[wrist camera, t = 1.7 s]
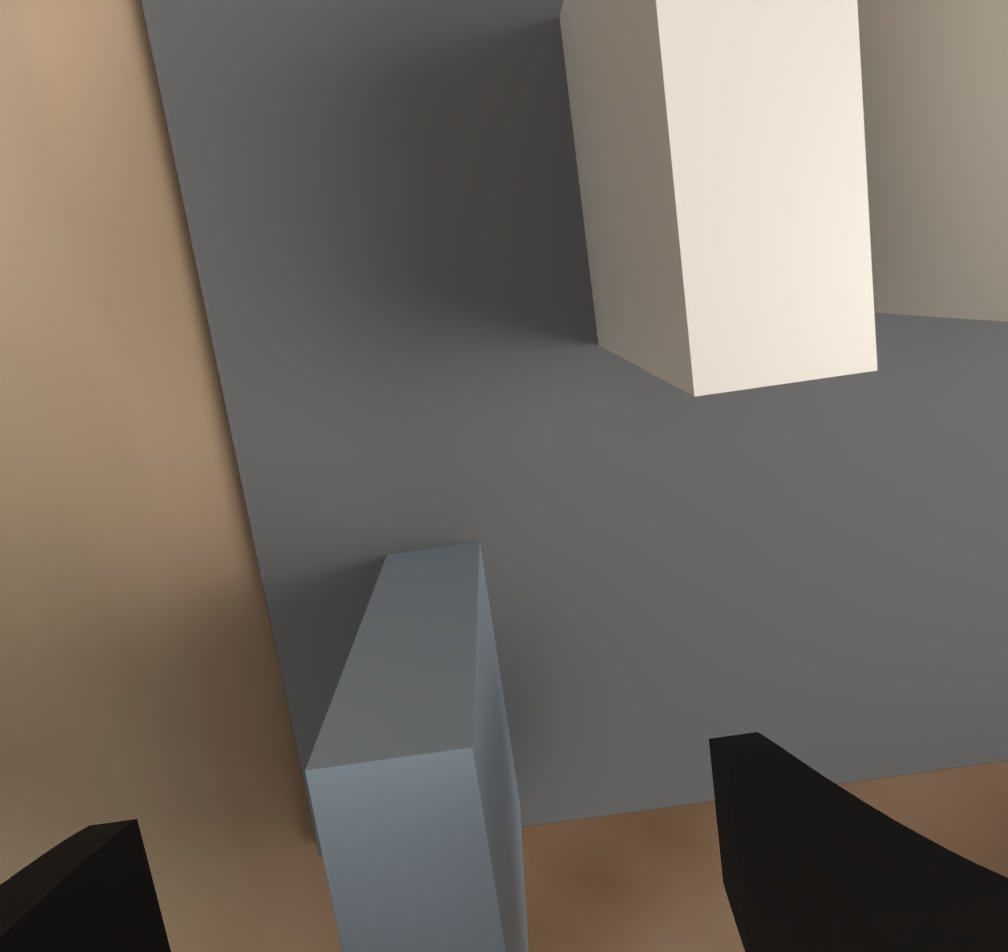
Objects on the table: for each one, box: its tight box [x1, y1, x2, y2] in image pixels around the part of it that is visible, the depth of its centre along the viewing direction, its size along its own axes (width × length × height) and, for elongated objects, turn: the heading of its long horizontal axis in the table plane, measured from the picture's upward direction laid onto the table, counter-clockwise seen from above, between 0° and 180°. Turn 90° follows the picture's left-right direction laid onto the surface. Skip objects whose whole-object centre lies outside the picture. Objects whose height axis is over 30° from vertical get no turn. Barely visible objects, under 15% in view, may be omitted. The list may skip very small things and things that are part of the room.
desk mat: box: [141, 0, 1008, 855], centre depth 15 cm, size 22×15×1 cm
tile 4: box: [559, 0, 878, 397], centre depth 11 cm, size 2×5×7 cm, turn 8°
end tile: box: [305, 541, 529, 952], centre depth 12 cm, size 2×5×7 cm, turn 8°
